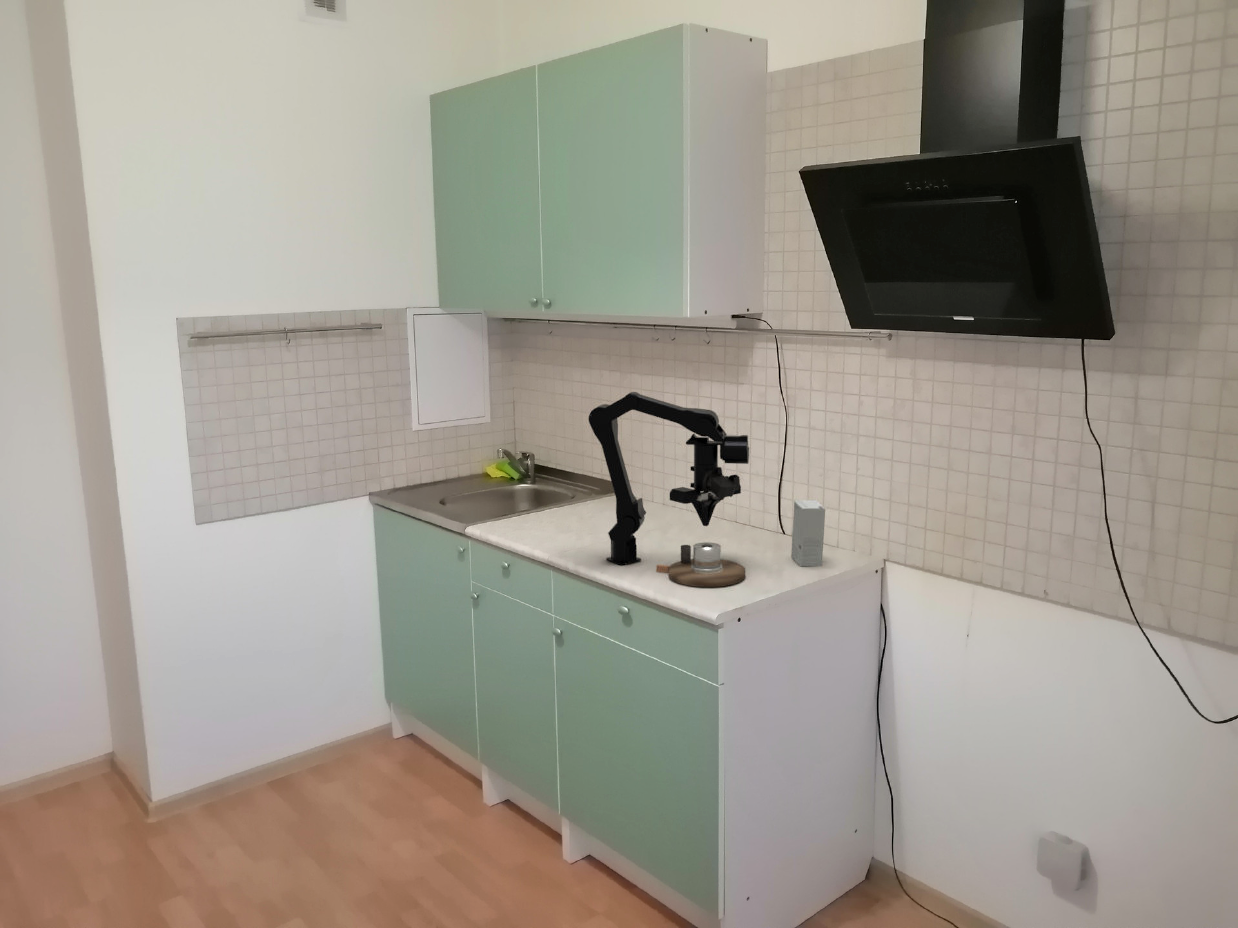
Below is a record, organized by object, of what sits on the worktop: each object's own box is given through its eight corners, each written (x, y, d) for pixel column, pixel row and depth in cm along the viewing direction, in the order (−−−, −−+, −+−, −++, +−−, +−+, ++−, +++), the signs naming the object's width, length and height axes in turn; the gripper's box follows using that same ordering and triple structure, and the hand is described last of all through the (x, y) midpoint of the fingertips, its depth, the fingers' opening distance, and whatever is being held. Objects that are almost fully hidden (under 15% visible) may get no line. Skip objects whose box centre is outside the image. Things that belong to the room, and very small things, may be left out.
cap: (685, 568, 230) (685, 545, 229) (707, 562, 234) (707, 540, 233) (705, 574, 224) (705, 551, 223) (728, 569, 229) (728, 546, 228)
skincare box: (790, 557, 244) (791, 499, 241) (814, 556, 245) (815, 498, 242) (800, 567, 236) (801, 507, 233) (824, 566, 236) (826, 506, 234)
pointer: (656, 571, 234) (656, 565, 234) (657, 570, 235) (657, 564, 235) (668, 572, 233) (668, 566, 233) (669, 571, 234) (669, 565, 233)
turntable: (653, 573, 231) (652, 551, 230) (709, 560, 242) (709, 538, 241) (704, 591, 217) (704, 567, 216) (761, 576, 228) (761, 553, 227)
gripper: (699, 472, 223) (699, 538, 226) (757, 462, 234) (756, 525, 237) (667, 465, 232) (668, 529, 234) (725, 456, 243) (724, 517, 246)
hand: (705, 525), depth 238 cm, fingers closed
